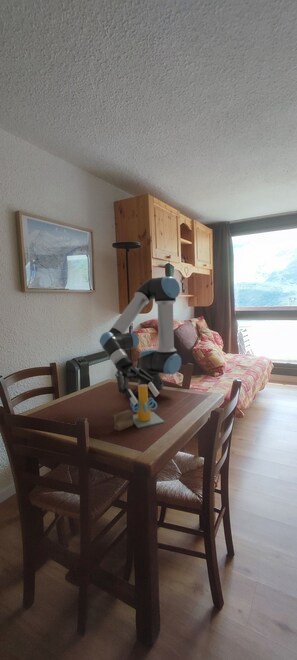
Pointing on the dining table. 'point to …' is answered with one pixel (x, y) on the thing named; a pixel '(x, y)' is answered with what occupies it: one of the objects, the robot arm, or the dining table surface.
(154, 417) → the mat
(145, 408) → the yellow upright looped piece
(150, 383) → the robot arm
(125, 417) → the tan block
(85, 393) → the dining table surface
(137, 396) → the pottery mug
